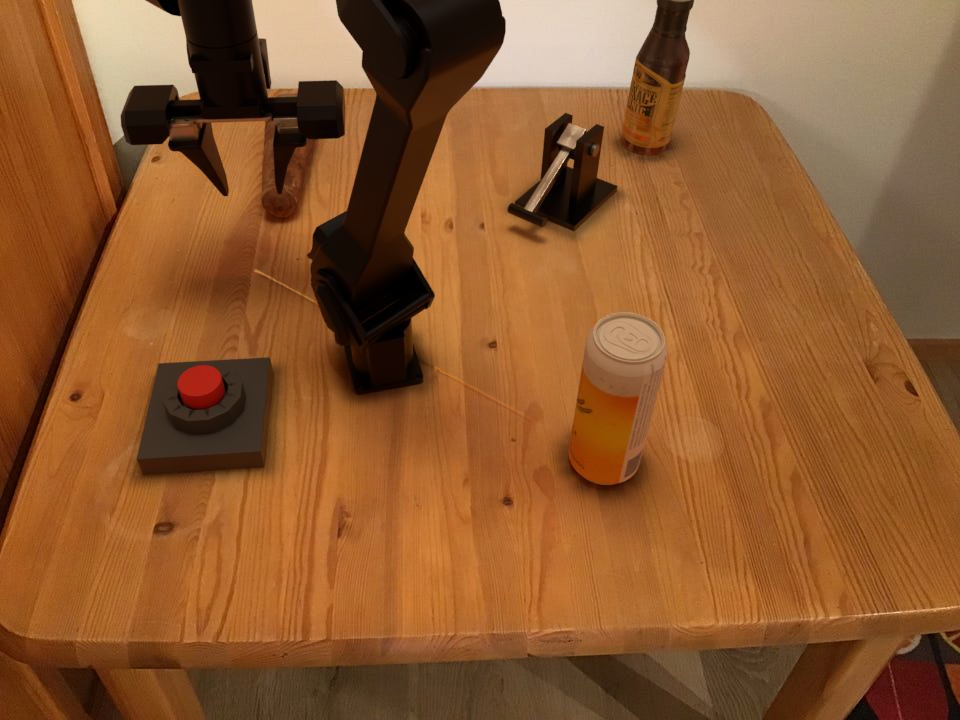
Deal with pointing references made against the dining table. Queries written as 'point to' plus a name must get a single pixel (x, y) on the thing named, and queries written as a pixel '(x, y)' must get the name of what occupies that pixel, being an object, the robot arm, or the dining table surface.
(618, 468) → the beer can
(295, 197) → the brown tapered cylinder
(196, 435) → the button box
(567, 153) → the lever
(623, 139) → the sauce bottle
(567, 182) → the bracket
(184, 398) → the button
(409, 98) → the robot arm
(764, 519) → the dining table surface
